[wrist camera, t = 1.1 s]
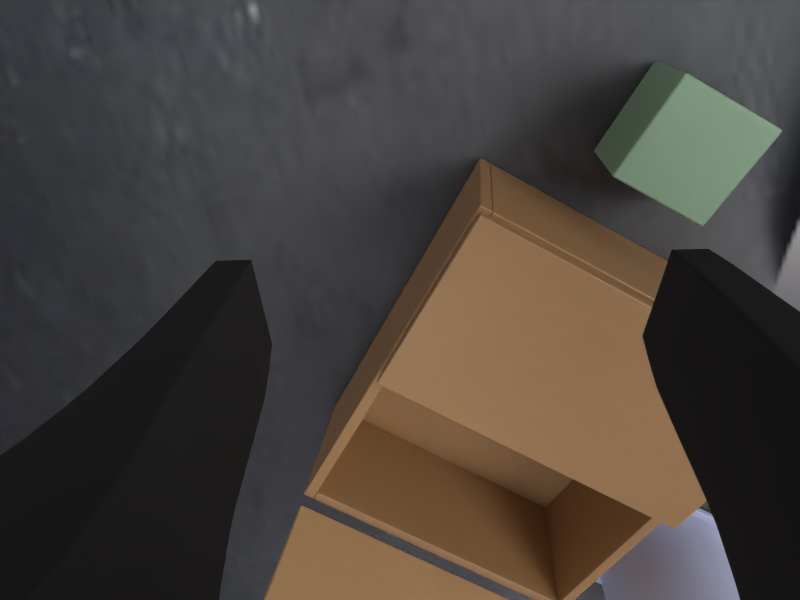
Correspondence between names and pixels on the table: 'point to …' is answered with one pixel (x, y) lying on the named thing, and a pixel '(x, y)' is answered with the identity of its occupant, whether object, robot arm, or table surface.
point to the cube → (683, 143)
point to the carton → (513, 400)
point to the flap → (357, 568)
